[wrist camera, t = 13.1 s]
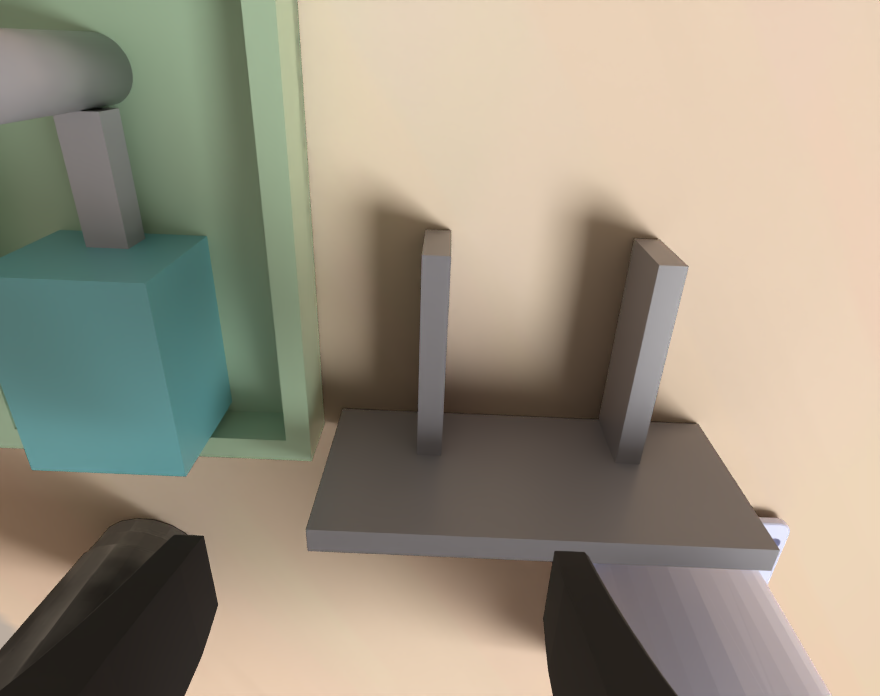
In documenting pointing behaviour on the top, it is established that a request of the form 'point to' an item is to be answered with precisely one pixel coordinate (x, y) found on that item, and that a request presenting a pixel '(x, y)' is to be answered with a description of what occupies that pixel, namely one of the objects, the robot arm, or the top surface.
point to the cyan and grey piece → (103, 288)
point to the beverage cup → (83, 591)
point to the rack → (541, 459)
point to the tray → (202, 189)
